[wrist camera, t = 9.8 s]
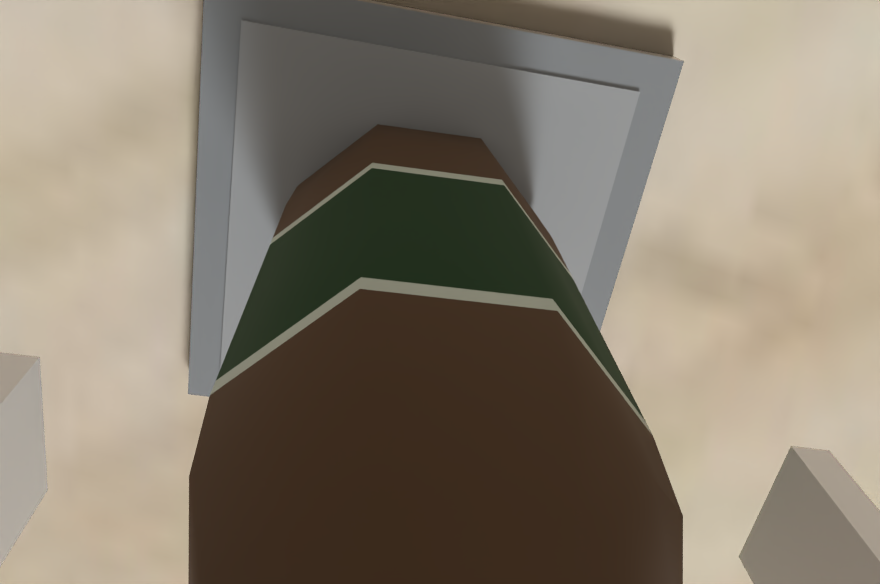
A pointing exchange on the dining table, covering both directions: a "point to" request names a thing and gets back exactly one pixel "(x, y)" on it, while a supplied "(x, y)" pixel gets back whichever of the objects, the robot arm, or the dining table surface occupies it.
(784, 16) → the dining table surface
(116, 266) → the dining table surface
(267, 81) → the plate
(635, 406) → the beer bottle
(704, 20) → the dining table surface
